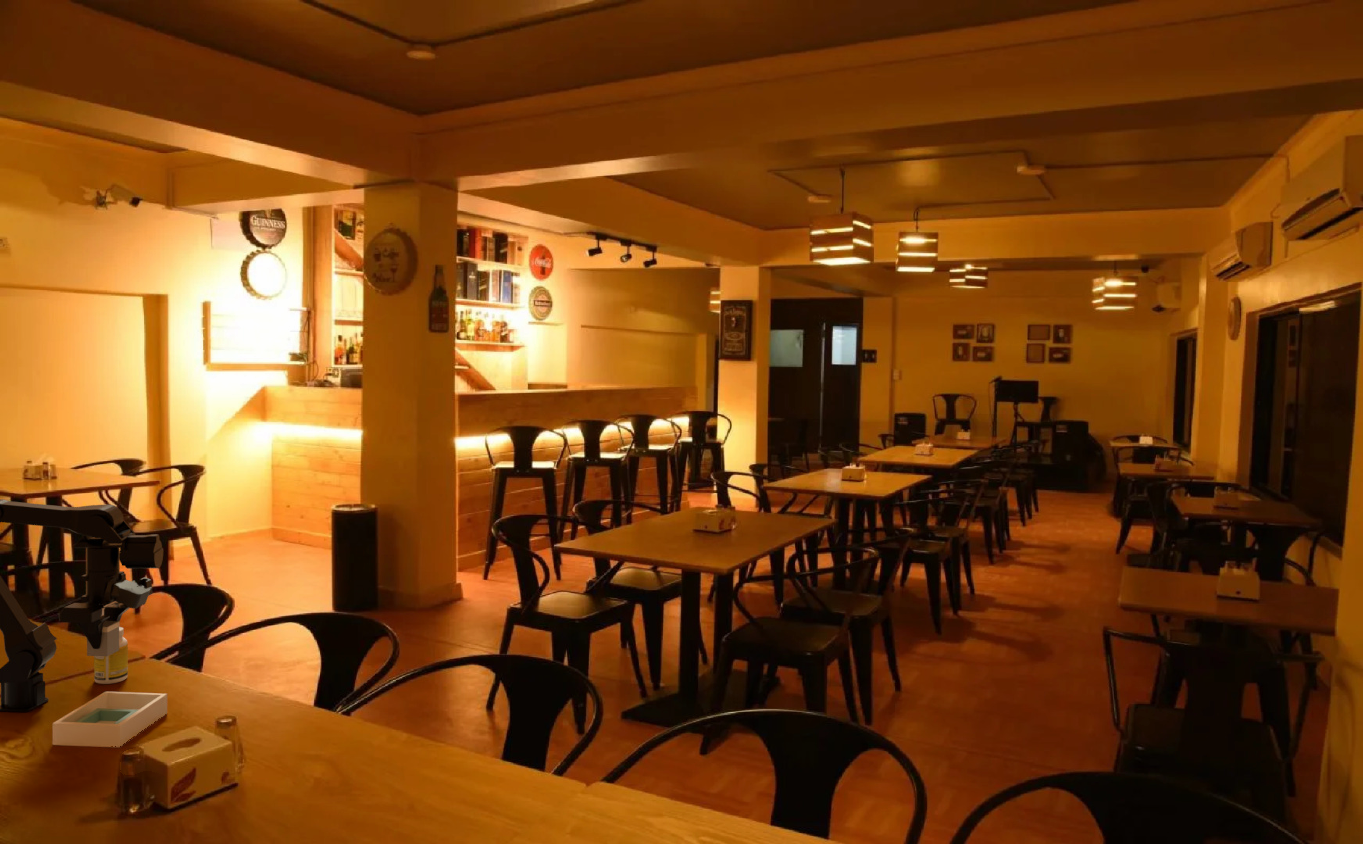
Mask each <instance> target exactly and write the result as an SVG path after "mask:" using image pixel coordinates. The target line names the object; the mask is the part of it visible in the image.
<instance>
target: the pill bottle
mask: <svg viewBox="0 0 1363 844" xmlns="http://www.w3.org/2000/svg"><path fill="white" fill-rule="evenodd" d="M124 629H125V628H124V627H122V626H119V651H117V652H115V653H113V654H111V655H109V656H93V659H94V660H93V662H94V663H93V667H94V668H93V671H94V672H93V674H94V675H93V676H94V679H93V680H94V682H95V683H96V684H100V685H110V684H111V685H113V684H117V683H120V682H122V681H124V680H126V679H127V678H128V676H129V670H128V669H129V663H128V662H129V661H128V660H129V659H128V658H129V656H128V655H129V653H128V645H129V644H128V640H127V639H126V638H125V637H124V634H125V632H124Z"/></svg>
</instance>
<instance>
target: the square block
mask: <svg viewBox="0 0 1363 844" xmlns="http://www.w3.org/2000/svg"><path fill="white" fill-rule="evenodd" d="M119 627H121V625H120V622H119V621H105V622H104V623H103V628H102V637H101V644H100V648H99V649H93V647H92V646H91V644H90V643H89V641H88V639H87V638H86V656H88V657H94V656H109V655H111V654H113V653H115V652H117V651H119Z"/></svg>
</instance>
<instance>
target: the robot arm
mask: <svg viewBox="0 0 1363 844" xmlns="http://www.w3.org/2000/svg"><path fill="white" fill-rule="evenodd" d="M0 523H7V524H17V525H27V526H28V525H29V526H38V527H49V528H58V529H59V528H60V529H65V530H68V531H71V532H73V533H76V534H78V535H82V536H81V538H80V539H79V540H78V541H77V542H75V543H74V544H73V548H75V549H82V548H83V549H85V574H83V575H81V576H80V581H81V582H85V594H84V595H82V596H80V602H74V603H72V604H69V605H67V606H64V607H63V608H61V609H60V610H59V611H58V622H59V623H70V624H72V623H73V624H75V623H76V624H77V626H78V628H79V629H80V630H81V631H82V633H83V634H84V636H85V638H86V640H87V639H88V641H89V643H90V644H91V646H92V647H93V649H99V648H100V644H101V637H102V628H103V623H104V622H105V621H119V622H120V621H121V619H122V616H123V615H124V613H125V612H127V611H128V610H130V609H138V608H139V607H140V606H145V605H146V603H147V600H148V598H149V596H152V594H153V593H154V591H153V585H152V584H153V583H152V579H150V578H148V577H146V576H145V577H142V578H140V579H138V580H137V581H136V580H127V574H126V573H125V571H122V570H121V569H120V564H121V566H122V567H125V569H129V570H130V569H132V570H133V569H139V570H140V569H142V570H143V569H160V568H161V566H162V563H163V560H164V558H163V557H164V548H163V545H162V541H161V540H160V535H159V534H158V533H157V534H156V533H155V534H154V533H153V534H146V535H145V534H144V535H143V534H141V535H140V534H139V535H138V534H137V535H136V532H134V530H133V529H132V528H131V527H130V525H129V524H128V523H127V522H126V521H125V519H124V514H123V512H122V511H121V509H120V508H119V507H118V506H116V505H114V504H108V503H107V504H106V503H105V504H96V505H95V504H92V505H83V506H73V507H71V506H61V505H51V504H39V503H33V502H32V503H31V502H19V501H10V500H7V499H0ZM120 570H121V571H120ZM0 631H1V633H2V636H3V643H4V644H3V645H4V652H5V654H6V657H7V660H8V661H7V662H6V663H5V664H4V665H2V666H1V667H0V712H19V713H20V712H21V713H23V712H24V713H28V712H29V711H32V710H34V709H35V708H38V707H40V706H41V705H43V704H44V703H46V702H47V701H49V697H46V681H45V680H44V672H40V671H41V670H43V669H44V668H45V667H46V665H47V662H48V661H50V660H51V659H52V658H53V657H54V656H55V655H56V651H57V649H58V648H57V644H56V640H58V638H57V637H56V636H55V635H53V634H52V632H51V630H50V629H49V625H48V624H47V623H46V622H43V623H41V624H40V625H38V624H36V623H34V622H32V621H31V620H30V619H29V618H28V616H27V614H26V613H25V611H24V610H23V608H22V607H21V605H20V604H19V602H18V600H17V599H16V597H15V596H14V594H13V593H12V591H11V590H10V588H9V587H8V585H7V584H6V582H5V580H4V578H2V576H1V575H0Z"/></svg>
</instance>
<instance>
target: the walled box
mask: <svg viewBox="0 0 1363 844" xmlns="http://www.w3.org/2000/svg"><path fill="white" fill-rule="evenodd" d="M165 714H166V715H168V693H159V692H158V693H156V692H155V693H154V692H133V691H131V692H130V691H104V692H103V693H101V694H99V695H97V696H95V697H94V698H92V699H91V700H89V701H87V702H86V703H84V704H82V705H81V706H79V707H77V708H76V709H74V710H73V711H70V712H69V713H68V714H65V715H64V716H62V717H61V718H59V719H57V720H56V721H54V722H52V745H53V746H68V747H69V746H70V747H71V746H72V747H73V746H74V747H98V748H99V747H101V748H121V747H123V746H124V745H125V744H127V743H128V742H129V741H130V740H129V739H131V738H132V737H133V736H135V737H137V736H138V735H139V734H140V733H139V732H141V731H142V730H143V731H145V730H146V729H147V727H148V726H149V725H150V726H152V725H153V724H155V723H156V722H158V721H159V720H160V719H162V718H163V717H164V716H166V715H165ZM161 717H162V718H161ZM159 718H160V719H159ZM158 719H159V720H158ZM155 721H156V722H155ZM154 722H155V723H154ZM151 724H152V725H151ZM150 726H149V727H150ZM149 727H148V728H149ZM145 728H146V729H145ZM144 729H145V730H144ZM143 731H142V732H143ZM142 732H141V733H142ZM138 733H139V734H138ZM137 734H138V735H137ZM132 739H133V738H132ZM132 739H131V740H132ZM128 740H129V741H128ZM127 741H128V742H127ZM126 742H127V743H126ZM124 743H125V744H124ZM123 744H124V745H123ZM111 746H113V747H111ZM115 746H116V747H115ZM120 746H121V747H120Z"/></svg>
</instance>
